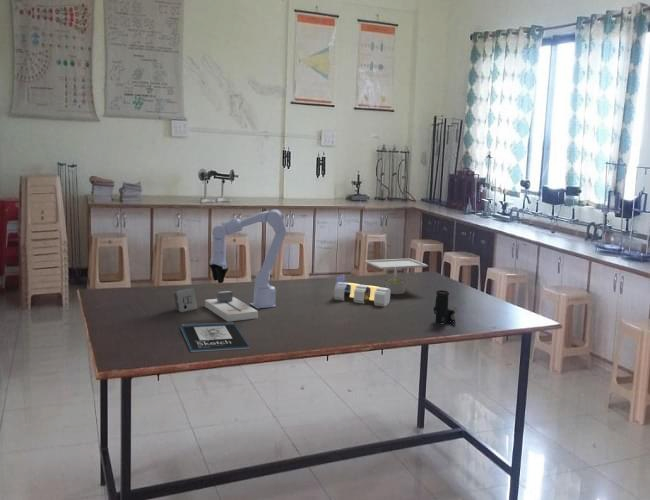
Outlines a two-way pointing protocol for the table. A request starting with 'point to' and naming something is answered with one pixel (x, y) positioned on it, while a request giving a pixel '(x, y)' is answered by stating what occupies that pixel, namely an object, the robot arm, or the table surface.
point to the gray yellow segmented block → (361, 292)
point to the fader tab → (224, 296)
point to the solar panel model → (395, 271)
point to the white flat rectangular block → (231, 309)
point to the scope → (443, 308)
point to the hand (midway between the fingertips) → (218, 281)
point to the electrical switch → (185, 300)
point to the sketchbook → (213, 337)
